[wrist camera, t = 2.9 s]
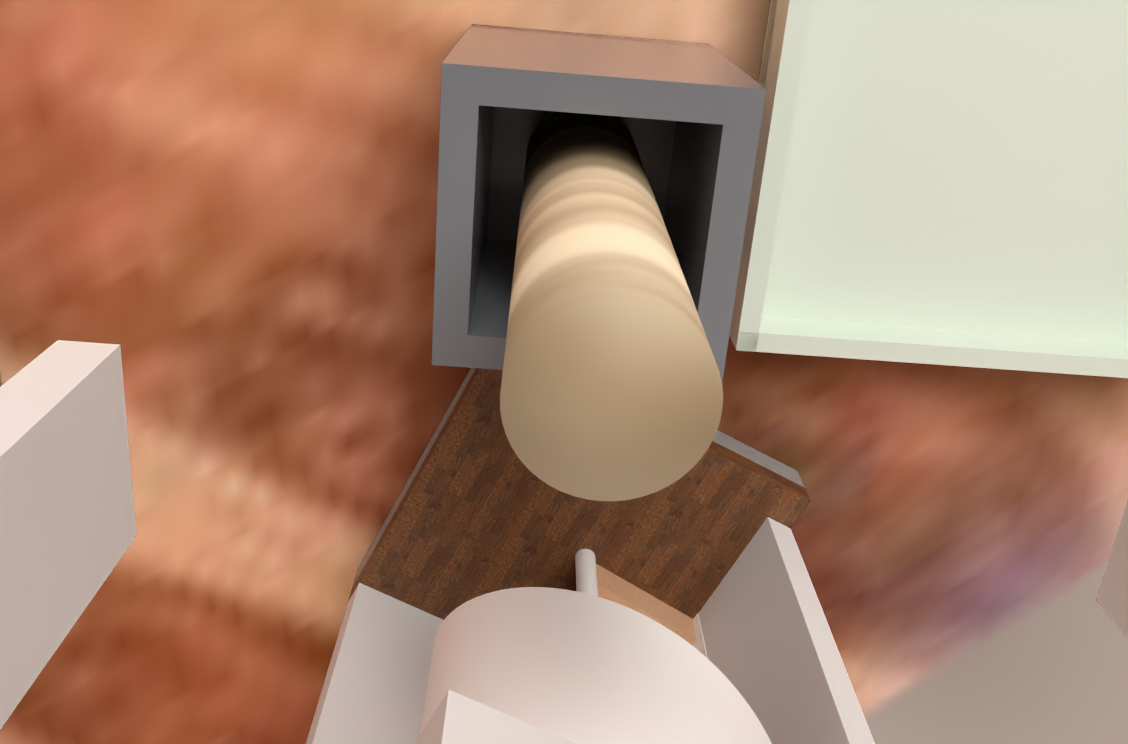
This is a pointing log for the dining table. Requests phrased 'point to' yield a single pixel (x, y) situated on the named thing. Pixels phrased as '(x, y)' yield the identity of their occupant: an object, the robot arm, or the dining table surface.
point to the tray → (941, 185)
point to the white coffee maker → (584, 608)
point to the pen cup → (602, 87)
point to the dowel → (601, 323)
